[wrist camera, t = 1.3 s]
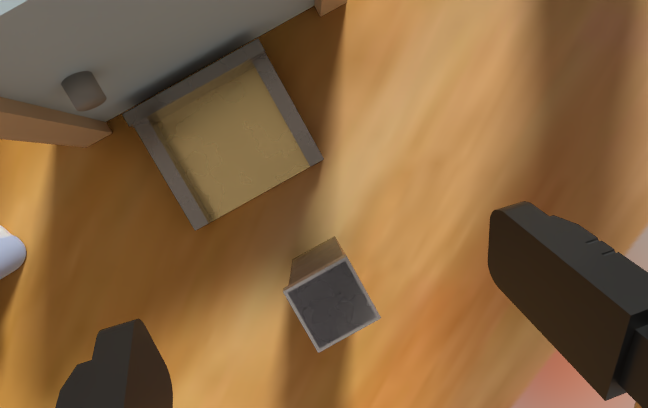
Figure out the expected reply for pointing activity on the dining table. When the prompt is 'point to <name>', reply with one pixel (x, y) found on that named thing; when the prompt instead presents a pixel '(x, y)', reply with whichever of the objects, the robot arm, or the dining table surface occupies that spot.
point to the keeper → (225, 134)
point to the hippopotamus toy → (10, 252)
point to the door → (114, 56)
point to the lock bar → (328, 295)
